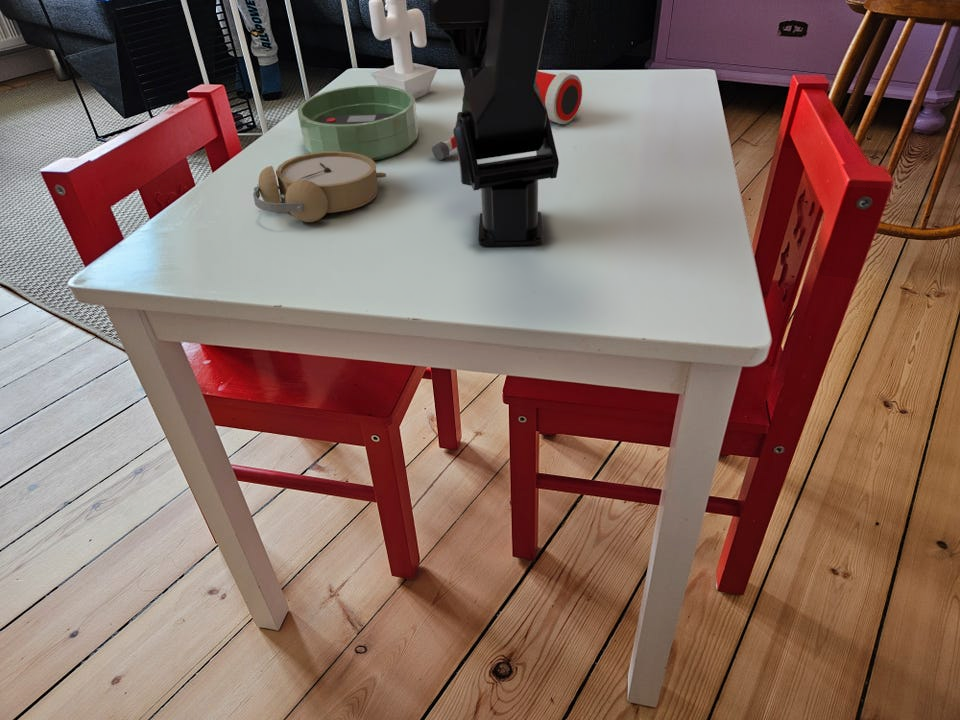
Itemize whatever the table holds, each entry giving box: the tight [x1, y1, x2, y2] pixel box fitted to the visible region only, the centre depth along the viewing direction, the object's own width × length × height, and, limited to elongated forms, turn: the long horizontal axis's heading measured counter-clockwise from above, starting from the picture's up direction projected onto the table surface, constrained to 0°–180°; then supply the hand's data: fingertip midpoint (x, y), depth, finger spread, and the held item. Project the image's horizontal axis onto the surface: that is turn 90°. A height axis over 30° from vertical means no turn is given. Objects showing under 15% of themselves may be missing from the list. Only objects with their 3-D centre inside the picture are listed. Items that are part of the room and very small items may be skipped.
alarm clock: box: [252, 151, 387, 223], centre depth 80 cm, size 11×5×15 cm
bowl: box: [296, 84, 420, 162], centre depth 93 cm, size 15×15×5 cm
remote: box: [317, 113, 397, 125], centre depth 93 cm, size 11×4×3 cm, turn 88°
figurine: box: [368, 0, 439, 100], centre depth 104 cm, size 7×9×15 cm
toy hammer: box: [431, 70, 583, 161], centre depth 93 cm, size 23×12×6 cm, turn 137°
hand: (471, 72), depth 77 cm, fingers open, 9 cm apart
